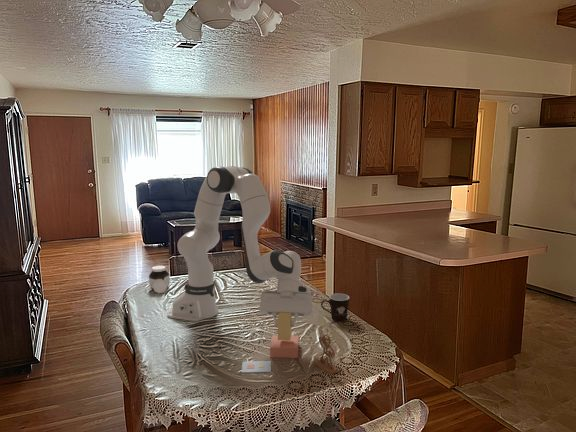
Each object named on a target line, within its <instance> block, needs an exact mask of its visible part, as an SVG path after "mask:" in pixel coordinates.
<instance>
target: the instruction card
mask: <svg viewBox="0 0 576 432" xmlns="http://www.w3.org/2000/svg"><path fill="white" fill-rule="evenodd" d="M241 364H242V365H241V371H240V373H241V374H245V373H246V374H247V373H249V374H252V373H253V374H255V373H271V372H272V360H261V361H260V360H259V361H258V360H257V361H255V360H253V361H252V360H251V361H250V360H249V361H242V363H241Z"/></svg>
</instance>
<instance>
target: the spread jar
mask: <svg viewBox="0 0 576 432" xmlns="http://www.w3.org/2000/svg"><path fill="white" fill-rule="evenodd" d="M170 279H171V278H170V273H169V272H168V271H167V270H166V266H164V265H156V266H152V267H151V272H150V273H149V276H148V283H149V288H151V290H153V291H154V292H155V293H158V294H162V293H165V292H166V291H167V289H168V287H169V286H170V281H171V280H170Z"/></svg>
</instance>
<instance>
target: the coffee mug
mask: <svg viewBox="0 0 576 432" xmlns="http://www.w3.org/2000/svg"><path fill="white" fill-rule="evenodd" d="M325 302H327V303H328V304H329V306H330V310H328V309H327V308H325V307H324V306H323V304H324V303H325ZM349 302H350V296H349V295H348V294H345V293H332V294H330V295H329V300H328V299H325V300H323V301H321V303H320V306H321V308H322V309H323V310H324V311H326V312H328V313H329V314H330V315H331V320H332V321H333V322H336V323H337V322H338V323H339V322H341V323H342V322H345V321H347V317H348V310H349V304H350V303H349Z"/></svg>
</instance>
